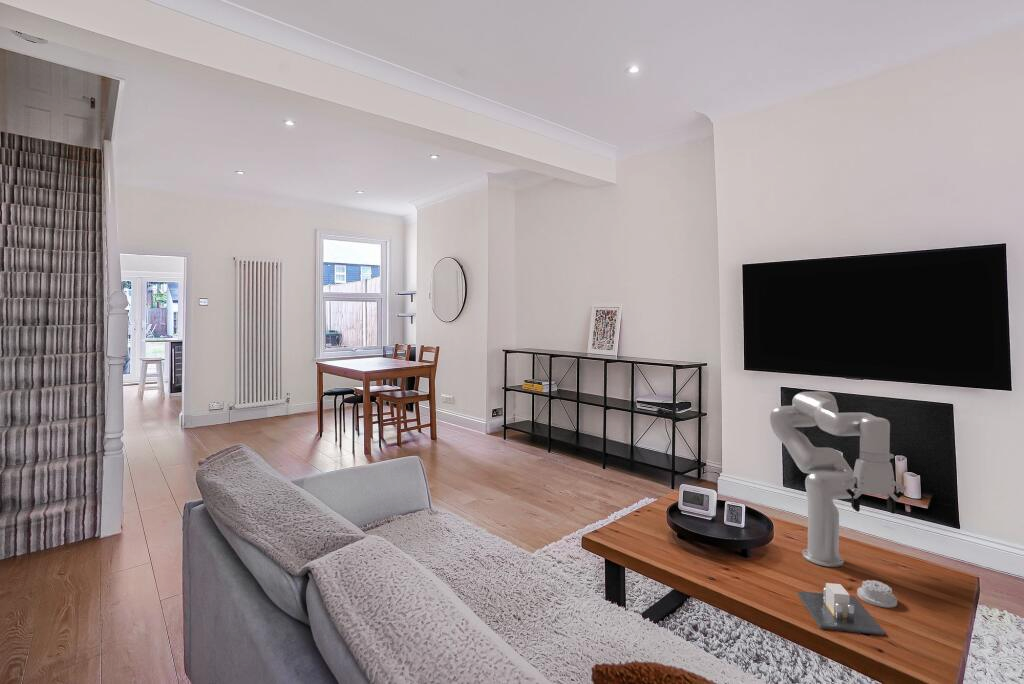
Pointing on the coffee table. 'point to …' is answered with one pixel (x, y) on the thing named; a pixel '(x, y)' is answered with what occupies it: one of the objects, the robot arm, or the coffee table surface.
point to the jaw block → (837, 597)
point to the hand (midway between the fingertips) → (873, 511)
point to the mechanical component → (877, 594)
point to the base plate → (836, 623)
